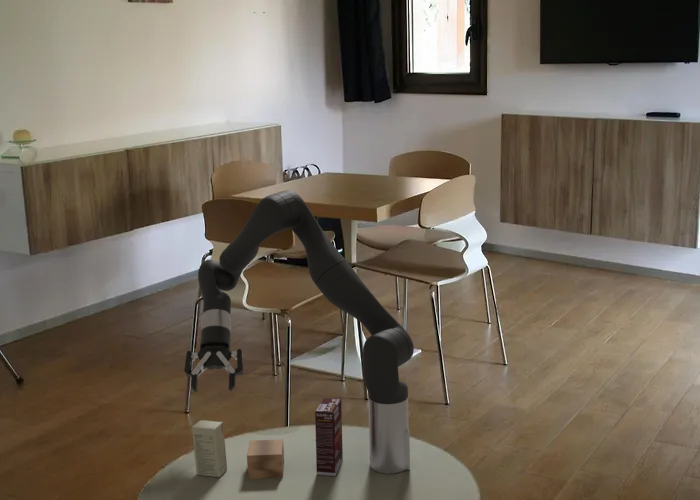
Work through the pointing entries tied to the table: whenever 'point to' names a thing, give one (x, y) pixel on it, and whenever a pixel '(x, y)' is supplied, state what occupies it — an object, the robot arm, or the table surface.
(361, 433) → the table surface
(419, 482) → the table surface
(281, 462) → the brown wooden block
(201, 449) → the skincare box
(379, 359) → the robot arm
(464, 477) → the table surface
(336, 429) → the supplement box
